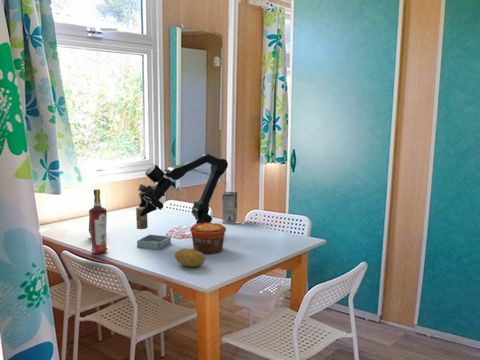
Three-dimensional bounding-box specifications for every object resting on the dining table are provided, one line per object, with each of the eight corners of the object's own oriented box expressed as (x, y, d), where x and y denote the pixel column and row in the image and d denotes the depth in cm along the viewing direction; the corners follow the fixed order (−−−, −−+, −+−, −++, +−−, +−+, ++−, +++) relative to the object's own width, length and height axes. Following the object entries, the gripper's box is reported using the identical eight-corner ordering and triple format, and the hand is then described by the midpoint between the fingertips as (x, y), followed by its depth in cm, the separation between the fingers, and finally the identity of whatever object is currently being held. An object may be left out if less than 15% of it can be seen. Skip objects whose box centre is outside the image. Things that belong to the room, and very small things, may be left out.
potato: (192, 272, 190) (192, 255, 189) (170, 265, 198) (169, 249, 197) (208, 266, 197) (208, 249, 196) (186, 259, 205) (186, 243, 204)
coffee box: (226, 219, 273) (226, 191, 270) (237, 220, 271) (237, 191, 269) (222, 223, 264) (222, 194, 261) (233, 224, 262) (233, 195, 260)
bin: (170, 242, 228) (170, 236, 228) (159, 249, 218) (159, 243, 217) (149, 240, 232) (149, 234, 231) (137, 247, 221) (137, 240, 221)
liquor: (101, 248, 218) (99, 187, 214) (111, 252, 214) (109, 189, 209) (87, 252, 213) (84, 189, 208) (97, 256, 208) (94, 191, 204)
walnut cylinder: (149, 226, 230) (148, 207, 229) (145, 229, 226) (144, 209, 224) (139, 226, 231) (138, 206, 230) (135, 228, 226) (134, 208, 225)
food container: (212, 257, 207) (212, 233, 206) (182, 251, 216) (182, 227, 214) (232, 248, 221) (233, 225, 219) (204, 242, 229) (204, 220, 227)
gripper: (142, 175, 234) (120, 200, 231) (155, 180, 219) (132, 207, 215) (158, 189, 240) (137, 214, 236) (172, 196, 224) (150, 222, 220)
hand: (138, 214), depth 227 cm, fingers closed on walnut cylinder, 5 cm apart
